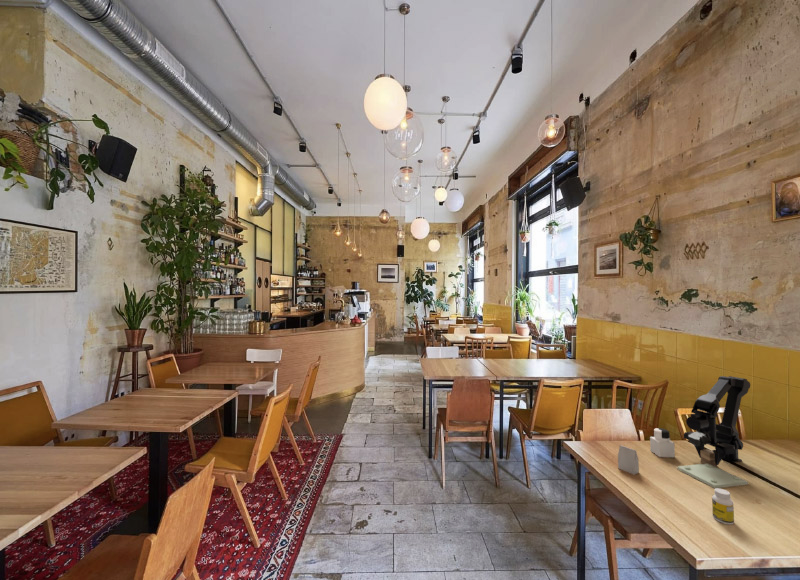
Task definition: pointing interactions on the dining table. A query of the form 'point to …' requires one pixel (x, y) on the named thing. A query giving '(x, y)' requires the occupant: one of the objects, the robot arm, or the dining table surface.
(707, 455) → the brown rectangular block
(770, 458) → the dining table surface
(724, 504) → the supplement bottle
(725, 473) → the baseplate
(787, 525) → the dining table surface
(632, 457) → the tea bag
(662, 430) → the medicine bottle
